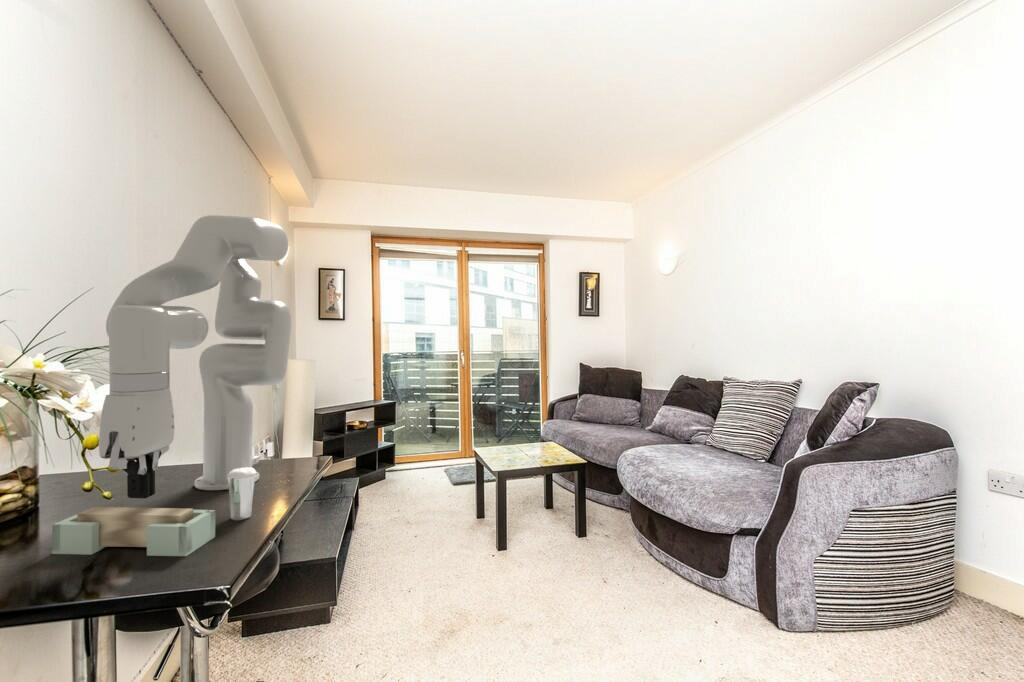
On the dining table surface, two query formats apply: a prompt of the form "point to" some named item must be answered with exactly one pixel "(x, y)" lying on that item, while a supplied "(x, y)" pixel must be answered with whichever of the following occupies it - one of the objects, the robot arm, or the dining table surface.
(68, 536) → the endcap
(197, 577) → the dining table surface
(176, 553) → the endcap
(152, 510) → the slat
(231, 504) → the milkshake
